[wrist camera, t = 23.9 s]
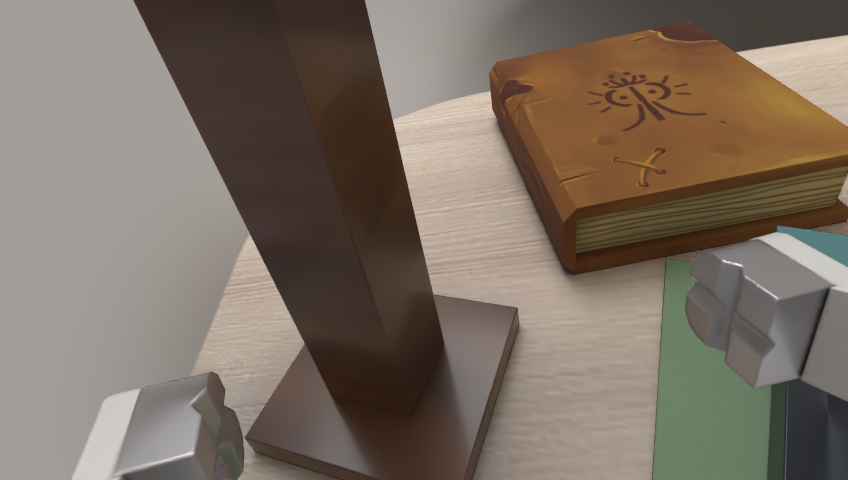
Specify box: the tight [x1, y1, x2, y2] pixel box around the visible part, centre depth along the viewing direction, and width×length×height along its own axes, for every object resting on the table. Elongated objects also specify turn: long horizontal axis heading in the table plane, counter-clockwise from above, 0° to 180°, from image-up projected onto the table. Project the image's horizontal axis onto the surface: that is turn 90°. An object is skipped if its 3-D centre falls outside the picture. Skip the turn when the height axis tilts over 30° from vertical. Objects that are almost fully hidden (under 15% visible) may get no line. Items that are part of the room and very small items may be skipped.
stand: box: [134, 0, 519, 480], centre depth 23 cm, size 12×12×26 cm
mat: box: [652, 259, 772, 480], centre depth 24 cm, size 24×12×1 cm, turn 159°
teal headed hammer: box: [767, 226, 848, 480], centre depth 22 cm, size 5×19×5 cm, turn 152°
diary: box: [489, 22, 848, 274], centre depth 42 cm, size 23×19×6 cm
